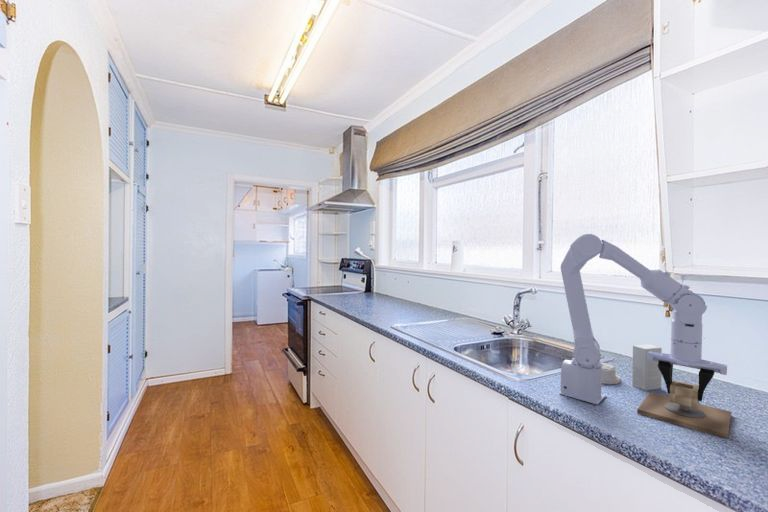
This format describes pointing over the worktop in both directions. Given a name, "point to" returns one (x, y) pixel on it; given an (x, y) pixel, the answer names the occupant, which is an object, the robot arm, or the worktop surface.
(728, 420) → the post board
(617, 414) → the worktop surface
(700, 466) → the worktop surface
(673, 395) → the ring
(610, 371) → the mechanical component
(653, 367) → the skincare box
